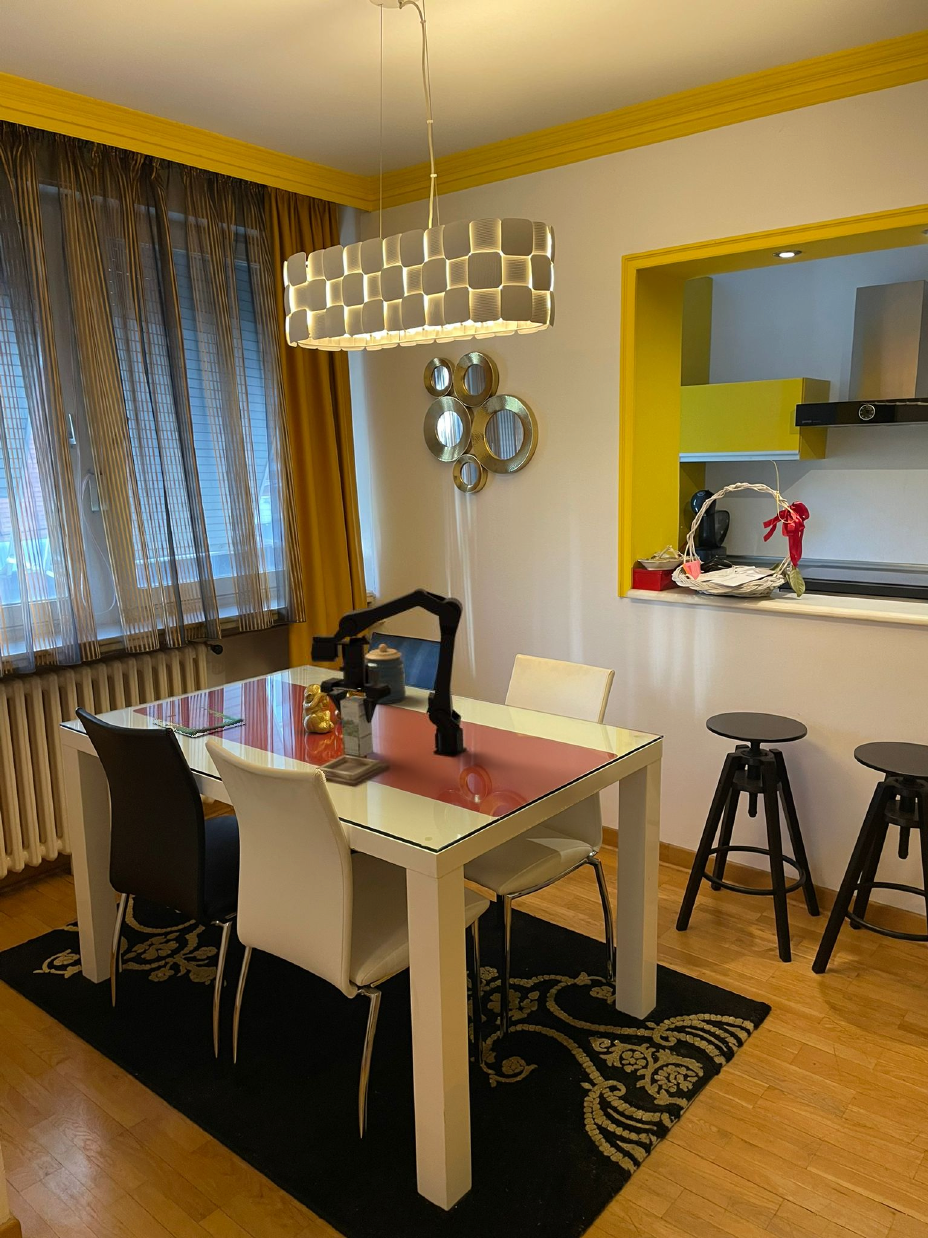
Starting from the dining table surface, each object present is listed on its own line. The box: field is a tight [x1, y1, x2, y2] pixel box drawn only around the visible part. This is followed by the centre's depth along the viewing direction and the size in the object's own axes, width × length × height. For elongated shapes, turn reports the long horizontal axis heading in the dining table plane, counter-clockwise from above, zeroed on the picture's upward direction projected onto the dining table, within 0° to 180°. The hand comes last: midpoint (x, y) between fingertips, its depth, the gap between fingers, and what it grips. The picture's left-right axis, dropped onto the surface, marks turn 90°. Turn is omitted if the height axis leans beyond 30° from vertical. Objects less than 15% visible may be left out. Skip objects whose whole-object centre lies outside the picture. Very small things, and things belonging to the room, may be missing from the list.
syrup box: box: [340, 695, 374, 758], centre depth 235 cm, size 6×6×14 cm
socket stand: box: [315, 754, 390, 787], centre depth 221 cm, size 14×14×2 cm
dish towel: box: [154, 707, 245, 736], centre depth 267 cm, size 17×23×2 cm
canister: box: [364, 643, 407, 705], centre depth 287 cm, size 13×13×18 cm
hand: (356, 721), depth 235 cm, fingers open, 8 cm apart
